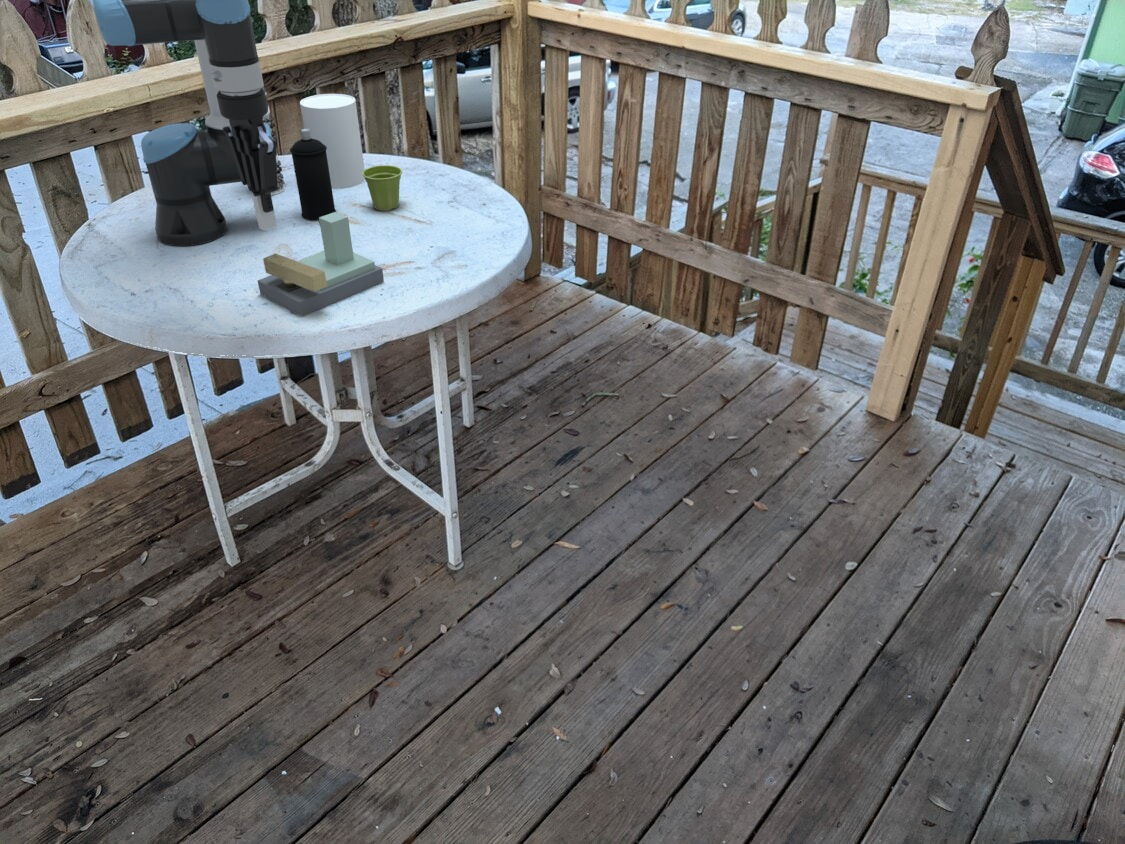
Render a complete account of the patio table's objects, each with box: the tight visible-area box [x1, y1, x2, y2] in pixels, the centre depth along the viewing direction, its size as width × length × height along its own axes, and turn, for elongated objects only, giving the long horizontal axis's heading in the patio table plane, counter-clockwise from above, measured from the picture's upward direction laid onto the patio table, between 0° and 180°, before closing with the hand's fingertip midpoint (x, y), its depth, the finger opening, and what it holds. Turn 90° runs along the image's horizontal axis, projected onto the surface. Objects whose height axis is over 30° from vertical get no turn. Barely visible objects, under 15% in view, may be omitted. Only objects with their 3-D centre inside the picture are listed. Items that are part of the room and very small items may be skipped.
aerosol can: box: [289, 128, 338, 221], centre depth 199 cm, size 8×8×20 cm
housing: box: [257, 264, 385, 317], centre depth 172 cm, size 14×20×3 cm
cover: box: [296, 212, 376, 290], centre depth 170 cm, size 12×13×10 cm
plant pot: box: [362, 164, 403, 211], centre depth 207 cm, size 9×9×9 cm
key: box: [262, 253, 327, 292], centre depth 164 cm, size 3×14×5 cm, turn 55°
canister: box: [299, 93, 366, 190], centre depth 218 cm, size 14×14×20 cm
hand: (268, 227), depth 152 cm, fingers closed
